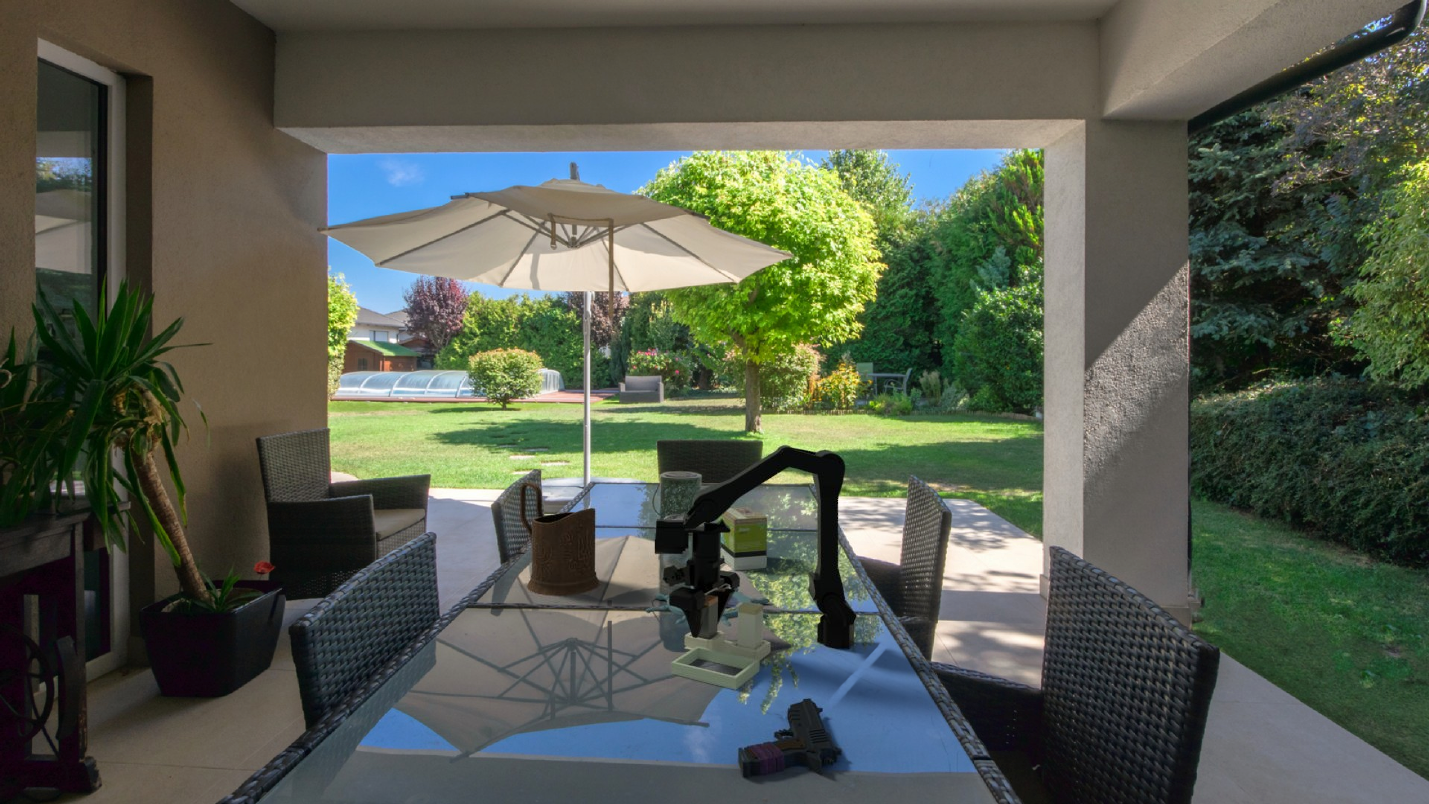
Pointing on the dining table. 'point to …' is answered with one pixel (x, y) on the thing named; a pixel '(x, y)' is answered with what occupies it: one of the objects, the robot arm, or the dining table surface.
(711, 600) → the block
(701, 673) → the tray
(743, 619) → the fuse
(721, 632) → the fuse block
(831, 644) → the robot arm
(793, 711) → the handgun
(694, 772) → the dining table surface
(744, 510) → the tea box
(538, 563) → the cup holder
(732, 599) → the decorative ship wheel
